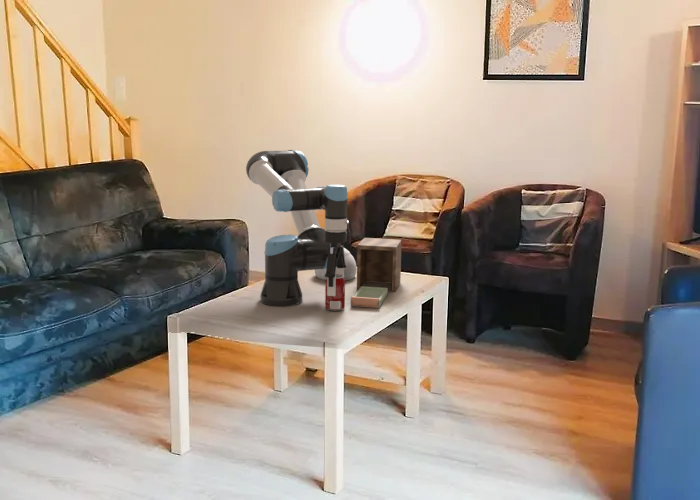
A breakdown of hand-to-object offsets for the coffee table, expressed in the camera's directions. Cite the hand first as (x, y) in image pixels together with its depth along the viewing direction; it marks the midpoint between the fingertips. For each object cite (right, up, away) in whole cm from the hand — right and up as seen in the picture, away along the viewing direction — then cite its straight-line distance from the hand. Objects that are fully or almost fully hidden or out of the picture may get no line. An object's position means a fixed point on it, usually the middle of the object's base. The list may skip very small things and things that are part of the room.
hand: (335, 291), depth 271 cm
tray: (+12, -4, +14) cm, 19 cm away
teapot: (-1, +3, +49) cm, 49 cm away
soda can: (0, -7, +2) cm, 7 cm away
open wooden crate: (+16, 0, +34) cm, 38 cm away
